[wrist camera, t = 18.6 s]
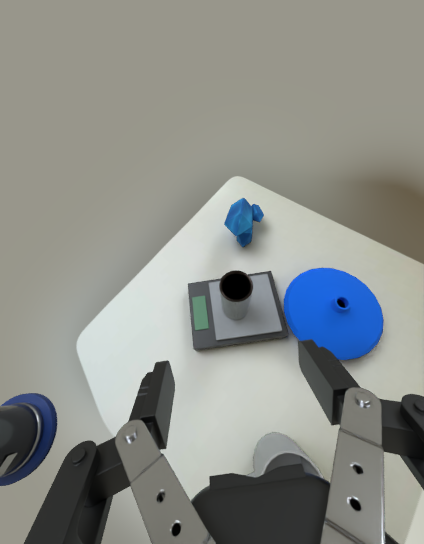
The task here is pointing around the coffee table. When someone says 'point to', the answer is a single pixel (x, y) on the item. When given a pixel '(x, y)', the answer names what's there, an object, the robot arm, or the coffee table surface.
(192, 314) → the scale
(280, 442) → the cup
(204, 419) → the coffee table surface
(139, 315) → the coffee table surface
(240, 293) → the grey cylindrical tube
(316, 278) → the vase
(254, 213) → the crystal
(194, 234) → the coffee table surface
